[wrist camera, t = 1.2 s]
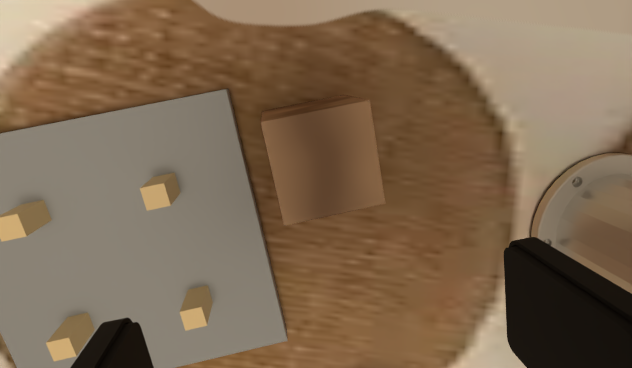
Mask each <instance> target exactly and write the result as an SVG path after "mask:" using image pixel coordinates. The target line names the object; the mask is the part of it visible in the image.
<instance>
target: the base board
mask: <svg viewBox="0 0 632 368" xmlns="http://www.w3.org/2000/svg"><path fill="white" fill-rule="evenodd" d="M123 318H130V319H131V320H132V322H138V323H139V324H140V326H141V329H142V332H143V335H144V338H145V341H146V345H147V348H148V351H149V354H150V357H151V360H152V363H153V367H154V368H175V367H180V366H184V365H188V364H192V363H196V362H200V361H205V360H209V359H213V358H217V357H221V356H225V355H230V354H234V353H238V352H242V351H246V350H251V349H255V348H259V347H263V346H267V345H271V344H276V343H280V342H284V341H287V329H286V325H285V321H284V317H283V313H282V308H281V304H280V300H279V296H278V292H277V288H276V284H275V280H274V275H273V271H272V267H271V263H270V259H269V255H268V251H267V247H266V242H265V238H264V234H263V230H262V226H261V222H260V218H259V214H258V209H257V205H256V201H255V197H254V193H253V189H252V185H251V181H250V176H249V172H248V168H247V164H246V160H245V156H244V152H243V148H242V143H241V139H240V135H239V131H238V127H237V123H236V119H235V115H234V110H233V106H232V102H231V98H230V94H229V90H228V89H224V90H219V91H214V92H209V93H204V94H199V95H194V96H189V97H184V98H178V99H173V100H168V101H163V102H158V103H153V104H148V105H143V106H138V107H133V108H128V109H123V110H118V111H112V112H107V113H102V114H97V115H92V116H87V117H82V118H77V119H72V120H67V121H62V122H57V123H51V124H46V125H41V126H36V127H31V128H26V129H21V130H16V131H11V132H6V133H1V134H0V332H1V334H2V337H3V339H4V341H5V343H6V345H7V347H8V349H9V352H10V354H11V356H12V358H13V360H14V362H15V364H16V367H17V368H70V367H71V366H72V365H73V363H74V362H75V360H76V359H77V357H78V356H79V355H80V353H81V352H82V350H83V349H84V348H85V346H86V345H87V343H88V342H89V341H90V339H91V338H92V336H93V335H94V333H95V332H96V331H97V329H98V328H99V326H100V325H101V324H102V323H103V322H108V321H113V320H118V319H123Z"/></svg>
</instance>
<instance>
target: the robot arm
mask: <svg viewBox="0 0 632 368" xmlns="http://www.w3.org/2000/svg"><path fill="white" fill-rule="evenodd" d="M504 270H505V294H506V319H507V338H508V343H509V345H510V348H511V349H512V351H513V352H514V354H515V355H516V356H517V357H518V358H519V359H520V360H521V361H522V363H523V364H524V365H525V366H526V367H527V368H632V155H629V154H624V153H606V154H602V155H597V156H593V157H591V158H588V159H586V160H584V161H581V162H579V163H578V164H576V165H575V166H573V167H572V168H570V169H568V170H567V171H566V172H565V173H564V174H563V175H561V176H560V177H559V178H558V179H557V180H556V181H555V182H554V183H553V185H552V186H551V187H550V188H549V190H548V191H547V192H546V194H545V195H544V197H543V199H542V201H541V202H540V204H539V206H538V209H537V211H536V214H535V217H534V220H533V226H532V231H531V237H530V238H525V239H520V240H515V241H512V242H511V243H510V245H509V248H506V249H505V251H504ZM70 368H154V367H153V363H152V360H151V357H150V354H149V351H148V348H147V345H146V341H145V338H144V335H143V332H142V329H141V326H140V324H139V323H138V322H132V320H131V319H130V318H123V319H118V320H113V321H108V322H103V323H102V324H101V325H100V326H99V328H98V329H97V331H96V332H95V333H94V335H93V336H92V338H91V339H90V341H89V342H88V343H87V345H86V346H85V348H84V349H83V350H82V352H81V353H80V355H79V356H78V357H77V359H76V360H75V362H74V363H73V365H72V366H71V367H70Z"/></svg>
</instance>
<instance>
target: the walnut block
mask: <svg viewBox="0 0 632 368" xmlns="http://www.w3.org/2000/svg"><path fill="white" fill-rule="evenodd" d="M261 126H262V130H263V135H264V139H265V144H266V148H267V152H268V157H269V161H270V166H271V170H272V175H273V179H274V183H275V188H276V192H277V197H278V201H279V205H280V210H281V214H282V219H283V223H284V226H286V225H291V224H295V223H300V222H304V221H309V220H313V219H318V218H322V217H327V216H331V215H336V214H340V213H345V212H349V211H354V210H359V209H363V208H368V207H372V206H377V205H381V204H385V197H384V191H383V184H382V177H381V171H380V164H379V157H378V151H377V144H376V137H375V131H374V124H373V118H372V111H371V104H370V100H367V99H362V98H356V97H351V96H346V95H340V96H335V97H330V98H326V99H321V100H316V101H311V102H306V103H301V104H296V105H291V106H286V107H281V108H276V109H271V110H266V111H262V117H261Z"/></svg>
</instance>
